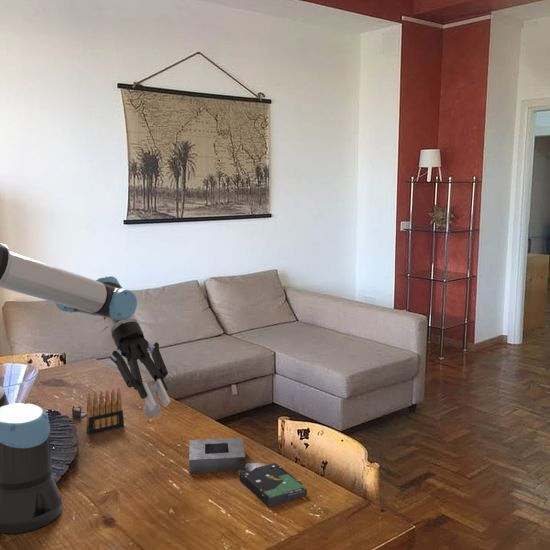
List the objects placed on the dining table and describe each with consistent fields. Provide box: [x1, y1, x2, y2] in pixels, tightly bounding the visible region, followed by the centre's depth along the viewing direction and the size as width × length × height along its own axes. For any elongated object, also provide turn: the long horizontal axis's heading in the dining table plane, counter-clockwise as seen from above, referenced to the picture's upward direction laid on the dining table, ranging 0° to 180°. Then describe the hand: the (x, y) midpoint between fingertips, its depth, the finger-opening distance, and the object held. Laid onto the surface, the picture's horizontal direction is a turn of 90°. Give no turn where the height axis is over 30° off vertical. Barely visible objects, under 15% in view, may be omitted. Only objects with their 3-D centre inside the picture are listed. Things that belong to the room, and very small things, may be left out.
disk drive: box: [239, 462, 308, 508], centre depth 142 cm, size 10×3×15 cm
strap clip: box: [70, 405, 87, 424], centre depth 185 cm, size 8×3×4 cm, turn 166°
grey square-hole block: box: [188, 437, 246, 474], centre depth 156 cm, size 12×14×4 cm
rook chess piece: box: [142, 381, 162, 418], centre depth 150 cm, size 4×4×8 cm
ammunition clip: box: [86, 387, 125, 435], centre depth 176 cm, size 11×2×12 cm, turn 125°
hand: (160, 405), depth 147 cm, fingers closed on rook chess piece, 3 cm apart
